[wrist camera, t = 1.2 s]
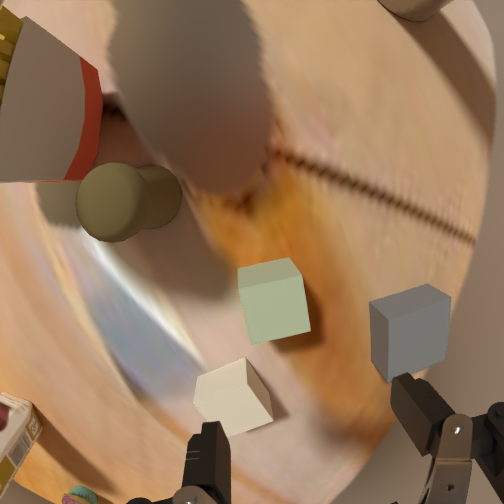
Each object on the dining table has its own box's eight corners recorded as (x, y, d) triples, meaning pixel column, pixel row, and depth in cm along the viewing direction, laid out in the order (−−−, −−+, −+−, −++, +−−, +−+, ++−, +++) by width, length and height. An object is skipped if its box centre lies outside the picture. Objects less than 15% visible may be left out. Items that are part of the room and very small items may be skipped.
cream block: (197, 376, 31) (193, 404, 26) (245, 356, 31) (247, 383, 26) (224, 409, 32) (223, 438, 27) (269, 392, 32) (273, 420, 27)
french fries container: (61, 181, 26) (-76, 192, 8) (71, 83, 23) (-42, 25, 6) (97, 179, 26) (-44, 184, 8) (107, 77, 24) (1, -3, 6)
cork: (194, 203, 27) (168, 214, 16) (145, 240, 27) (96, 272, 17) (158, 152, 26) (113, 132, 15) (110, 191, 26) (47, 196, 15)
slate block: (368, 301, 30) (388, 319, 25) (426, 282, 30) (451, 297, 25) (370, 360, 32) (387, 383, 27) (424, 340, 32) (445, 358, 27)
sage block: (237, 268, 29) (238, 289, 23) (288, 257, 29) (302, 275, 23) (248, 314, 30) (251, 344, 24) (297, 304, 30) (310, 331, 24)
